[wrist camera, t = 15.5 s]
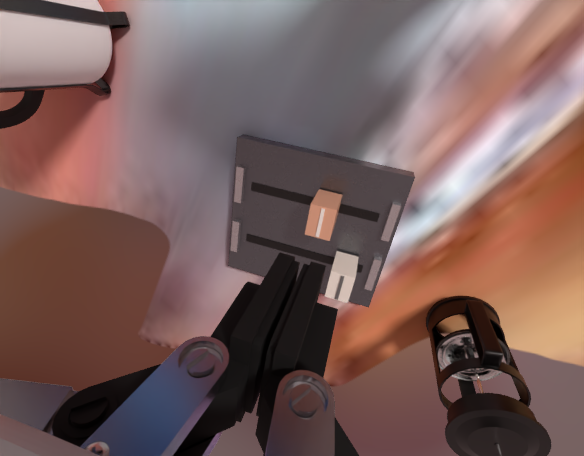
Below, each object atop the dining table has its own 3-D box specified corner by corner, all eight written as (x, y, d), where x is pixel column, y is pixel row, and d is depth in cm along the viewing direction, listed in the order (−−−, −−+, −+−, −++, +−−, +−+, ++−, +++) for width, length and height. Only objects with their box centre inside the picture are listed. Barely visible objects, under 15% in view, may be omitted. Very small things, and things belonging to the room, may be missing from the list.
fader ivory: (336, 250, 43) (330, 271, 39) (358, 256, 43) (355, 278, 38) (330, 274, 45) (324, 297, 41) (351, 280, 45) (347, 304, 40)
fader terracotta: (319, 189, 40) (310, 204, 35) (342, 194, 39) (336, 210, 35) (313, 217, 42) (304, 235, 37) (335, 223, 41) (329, 241, 37)
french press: (490, 354, 47) (566, 566, 27) (421, 345, 49) (445, 532, 29) (508, 289, 42) (619, 490, 22) (431, 282, 44) (467, 457, 24)
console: (243, 134, 42) (234, 138, 39) (413, 172, 38) (415, 179, 36) (233, 259, 51) (226, 268, 49) (369, 298, 48) (368, 310, 46)
